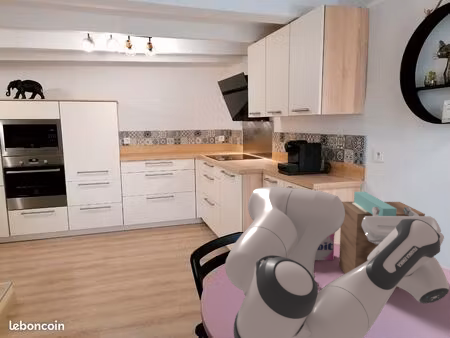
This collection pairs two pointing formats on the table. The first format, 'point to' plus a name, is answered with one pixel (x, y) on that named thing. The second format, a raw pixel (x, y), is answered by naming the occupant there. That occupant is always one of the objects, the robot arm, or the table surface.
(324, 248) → the gum box
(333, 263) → the table surface
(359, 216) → the stand
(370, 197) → the beam
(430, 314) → the table surface
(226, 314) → the table surface
